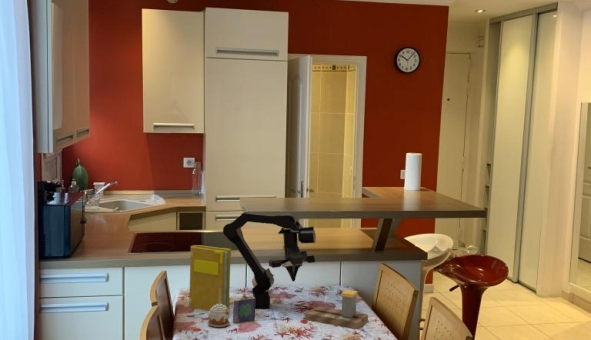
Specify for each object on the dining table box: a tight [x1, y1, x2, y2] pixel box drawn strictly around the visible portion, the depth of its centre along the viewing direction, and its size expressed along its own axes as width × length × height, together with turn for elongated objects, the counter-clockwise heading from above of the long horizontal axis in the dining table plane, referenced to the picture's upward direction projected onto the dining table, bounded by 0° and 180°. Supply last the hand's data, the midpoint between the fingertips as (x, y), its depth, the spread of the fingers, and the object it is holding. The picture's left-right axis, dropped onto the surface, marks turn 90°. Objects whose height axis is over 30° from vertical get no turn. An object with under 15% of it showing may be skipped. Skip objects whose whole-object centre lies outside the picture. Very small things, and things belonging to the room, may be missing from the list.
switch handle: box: [340, 289, 359, 318], centre depth 226 cm, size 5×6×11 cm
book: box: [188, 244, 232, 312], centre depth 238 cm, size 17×7×25 cm, turn 65°
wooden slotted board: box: [304, 305, 369, 330], centre depth 229 cm, size 22×12×3 cm, turn 64°
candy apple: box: [207, 286, 231, 328], centre depth 218 cm, size 8×8×15 cm
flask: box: [232, 293, 256, 324], centre depth 223 cm, size 9×3×11 cm, turn 121°
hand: (293, 281), depth 240 cm, fingers closed
